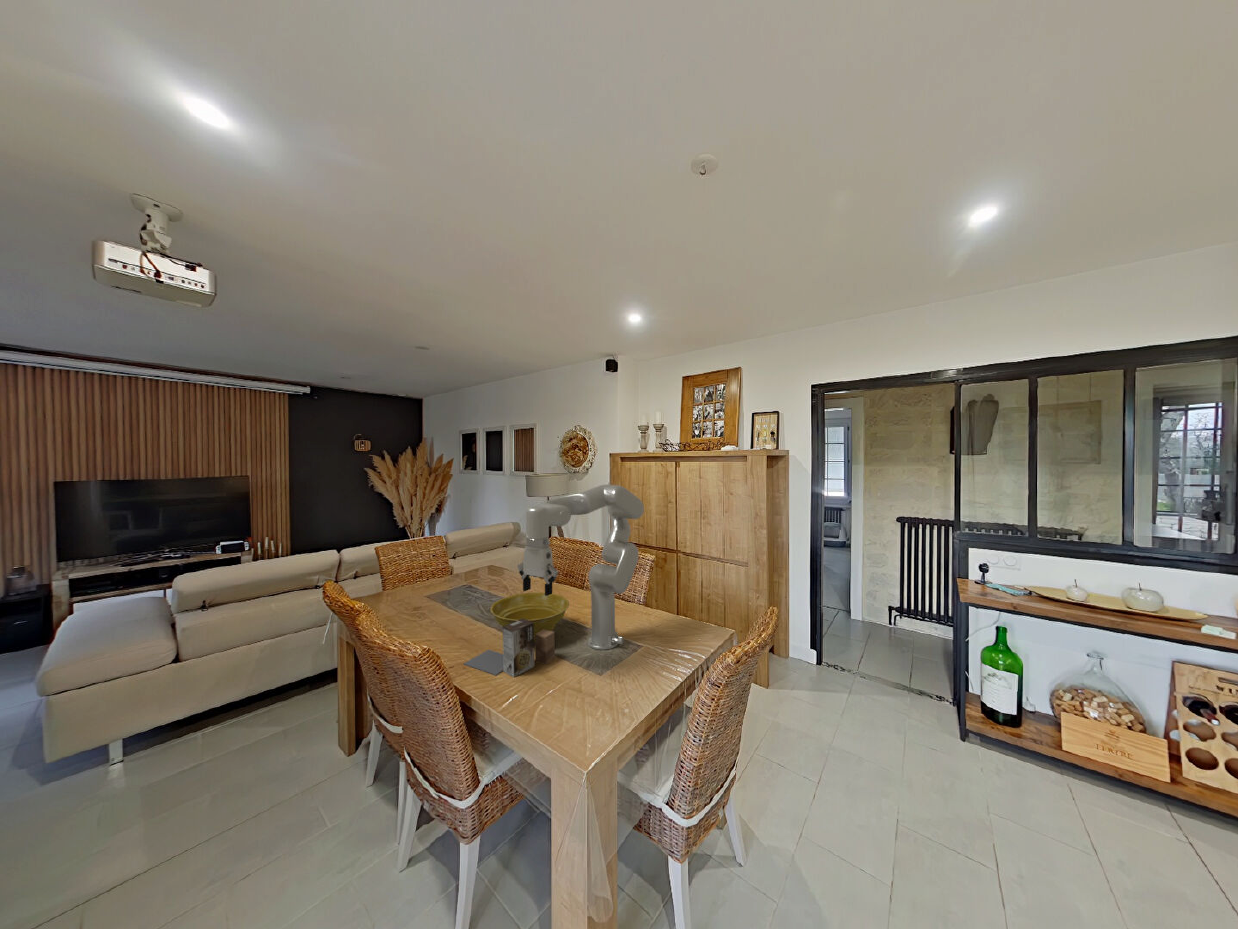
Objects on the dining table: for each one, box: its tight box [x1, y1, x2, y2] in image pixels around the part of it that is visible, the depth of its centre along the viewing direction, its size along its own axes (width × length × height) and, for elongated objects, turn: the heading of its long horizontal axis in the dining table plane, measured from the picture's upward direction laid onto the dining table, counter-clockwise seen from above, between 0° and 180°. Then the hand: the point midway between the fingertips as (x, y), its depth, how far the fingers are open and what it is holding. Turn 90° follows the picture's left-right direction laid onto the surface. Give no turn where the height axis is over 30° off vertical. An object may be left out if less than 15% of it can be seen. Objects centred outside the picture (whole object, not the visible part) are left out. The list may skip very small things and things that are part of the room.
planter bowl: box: [490, 592, 570, 644], centre depth 169 cm, size 32×32×13 cm
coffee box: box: [502, 619, 536, 678], centre depth 142 cm, size 9×6×16 cm
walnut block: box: [534, 630, 556, 665], centre depth 149 cm, size 5×5×10 cm
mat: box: [463, 649, 504, 676], centre depth 147 cm, size 16×12×1 cm
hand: (537, 592), depth 139 cm, fingers open, 9 cm apart
